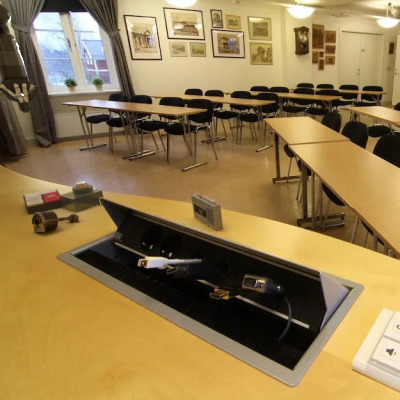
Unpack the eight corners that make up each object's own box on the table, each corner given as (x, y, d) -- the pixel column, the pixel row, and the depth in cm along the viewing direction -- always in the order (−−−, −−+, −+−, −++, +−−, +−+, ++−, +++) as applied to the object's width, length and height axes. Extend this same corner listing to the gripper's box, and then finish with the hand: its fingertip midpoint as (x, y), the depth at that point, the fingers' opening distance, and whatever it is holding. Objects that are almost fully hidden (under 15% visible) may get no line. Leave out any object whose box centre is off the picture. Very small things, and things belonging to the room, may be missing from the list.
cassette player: (194, 217, 119) (190, 192, 115) (201, 215, 121) (197, 190, 117) (215, 230, 109) (212, 203, 106) (223, 228, 111) (220, 201, 107)
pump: (80, 189, 125) (78, 184, 124) (74, 188, 126) (73, 183, 126) (89, 186, 128) (88, 182, 127) (84, 185, 129) (83, 180, 129)
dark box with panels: (25, 205, 118) (22, 193, 128) (29, 216, 120) (25, 203, 129) (62, 198, 125) (56, 187, 135) (65, 208, 127) (59, 196, 137)
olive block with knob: (76, 212, 122) (70, 194, 119) (62, 208, 125) (57, 190, 123) (105, 203, 131) (100, 185, 128) (91, 199, 135) (87, 182, 132)
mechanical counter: (25, 213, 108) (25, 216, 100) (70, 200, 115) (73, 202, 108) (35, 233, 110) (35, 237, 102) (79, 219, 117) (82, 222, 110)
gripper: (-8, 63, 111) (9, 114, 118) (37, 64, 122) (50, 111, 129) (-18, 63, 114) (-1, 113, 121) (26, 64, 125) (40, 110, 132)
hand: (25, 112), depth 125 cm, fingers closed
